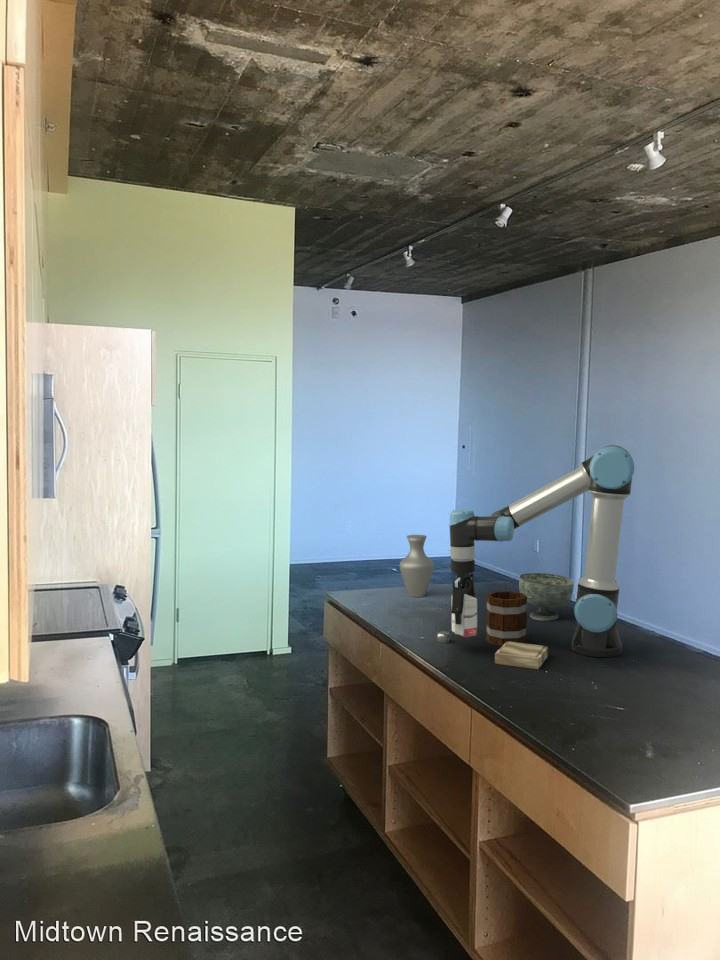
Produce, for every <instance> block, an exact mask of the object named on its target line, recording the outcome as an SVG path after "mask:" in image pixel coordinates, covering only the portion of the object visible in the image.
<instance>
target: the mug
mask: <svg viewBox="0 0 720 960" xmlns="http://www.w3.org/2000/svg"><path fill="white" fill-rule="evenodd" d="M485 598H486V612H485V620H486V634H485V640H486V641H487V643H489V644H492V645H496V646H500V647H502V646H503V645H504V644H505V643H506V642H517V643H525V644H527V643H528V639H527V623H528V615H527V614H528V613H527V603H528V602H527V596H526V595H524V594H523V593H520V592H518V591H512V590H507V591H506V590H504V591H503V590H497V591H492V592H489V593H486V594H485Z"/></svg>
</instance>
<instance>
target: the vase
mask: <svg viewBox="0 0 720 960" xmlns="http://www.w3.org/2000/svg"><path fill="white" fill-rule="evenodd" d="M427 537H428V536H427V535H425V534H410V535H407V536H406V539H407V541H408V544H409V552H408V554H407V555H406V556H405V557H404V558H402V560H400V561H399V569H400V570H399V571H400V573H401V577H402V580H403V583H404V587H405V588H406V591H407V594H408V597H412V598H422V597H425V596H426V594H427V591H428V589H429V587H430V584H431V579H432V577H433V574H434V570H435V563H434V561H433V559H431V558H430V557H428V556H427V555H426V553H425V550H424V545H425V541H426V539H427Z"/></svg>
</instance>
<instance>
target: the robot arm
mask: <svg viewBox="0 0 720 960" xmlns="http://www.w3.org/2000/svg"><path fill="white" fill-rule="evenodd" d="M631 455H632V454H630V452H629V451H628V450H627V449H625V448H624V447H622V446H619V445H616V444H615V445H614V444H613V445H611V444H610V445H607V446H603V447H602V448H600V449H599V450H597V451H596V452H595V453H594V454H593V455H592V456H590V457H589V458H587V459H585V460H584V461H581V462H580V465H579V466H578V468H576V469H573V470H572V471H570V472H568V473H566V474H564V475H563V476H561V477H559V478H557V479H555V480H553V481H551V482H550V483H547V484H546V485H544V486H542V487H540V488H538V489H537V490H534V491H533V492H531V493H529V494H527V495H526V496H524V497H522V498H520V499H518V500H516V501H515V502H513V503H511V504H509V505H507V506H504V507H503V508H502V509H499V510H496V511H495V512H493V513H492V514H491V515H490V516H487V515H486V516H478V515H477V516H476V515H475V514H474V510H472V509H467V508H462V509H460V508H459V509H453V510H452V511H450V513H449V524H448V526H449V542H450V544H449V545H450V546H449V549H448V551H449V552H450V558H451V560H450V571H451V572H452V573H455V574H456V576H455V580H452V582H451V583H452V594H451V614H452V613H454V615H455V632H454V634H455V635H459V634H460V635H459V636H461V635H464V613H462V611H463V599H464V595H465V594H467V595H469V596H472V597H474V598H476V593H475V592H476V591H475V583H474V572H475V570H476V561H475V557H476V550H475V549H476V547H475V541H478V542H479V541H481V542H482V541H485V542H486V541H487V542H488V541H489V542H501V543H503V542H511V541H512V540H513V539H514V535H515V534H514V532H515V529H518V528H520V527H521V526H522V525H523V526H524V525H525V524H527V523H529V522H531V521H532V520H535V518H539V517H540V516H542V515H544V514H546V513H548V512H550V511H551V510H554V509H556V508H557V507H559V506H561V505H564V504H565V503H567V502H569V501H571V500H573V499H575V498H577V497H579V496H580V495H583V494H585V493H587V492H589V493H590V494H591V496H592V503H591V513H590V521H589V531H588V538H587V539H588V540H587V541H588V542H587V547H586V548H587V550H586V556H585V557H586V558H585V566H584V567H585V568H584V574H583V575H584V576H582V577H580V578H579V579H578V580H577V581H578V583H577V591H576V600H575V605H574V608H573V612H574V613H573V614H574V617H575V619H576V622H577V625H576V628H575V631H574V634H573V636H572V639H571V650H572V651H573V652H575V653H577V654H579V655H583V656H588V657H595V658H611V657H612V658H613V657H617V656H620V655H621V654H622V653H623V643H622V641H621V637H620V634H619V631H618V628H617V627H618V626H617V619H618V603H619V596H620V586H619V584H618V582H617V580H616V575H617V574H616V573H617V572H616V571H617V564H618V556H619V546H620V539H621V538H620V537H621V531H622V530H621V528H622V521H623V511H624V502H625V499H627V498H629V497H630V496H631V491H632V483H633V482H632V481H633V475H634V473H635V462H634V460H633V457H632V456H631Z"/></svg>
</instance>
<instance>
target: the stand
mask: <svg viewBox="0 0 720 960" xmlns="http://www.w3.org/2000/svg"><path fill="white" fill-rule="evenodd" d="M548 657H549V647H548V646H545V645H541V644H533V643H517V642H506V643H505V644H504V645H503V646H500V647H499V649H497V650H496V652H495V653H494V664H497V665H503V666H511V667H512V666H513V667H519V668H527V669H534V670H539V669H540V668H541V667H542V665H544V662H545V661H546V660H547V659H548Z"/></svg>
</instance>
